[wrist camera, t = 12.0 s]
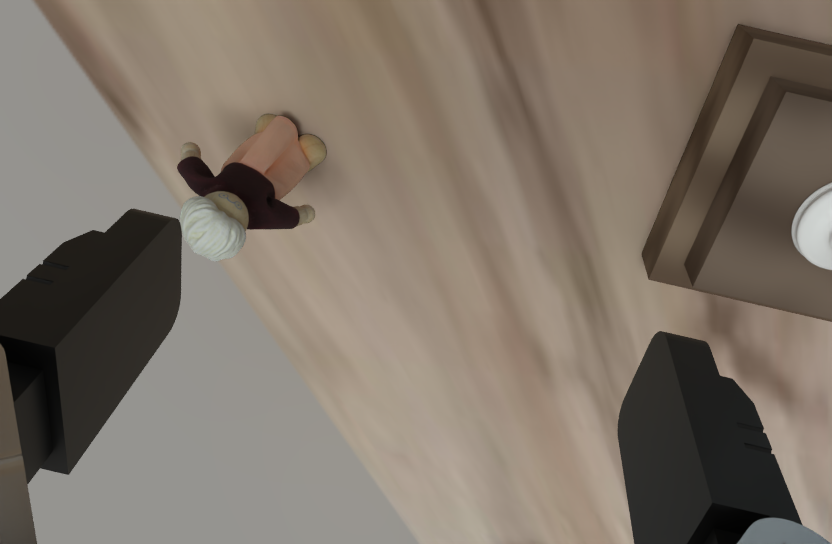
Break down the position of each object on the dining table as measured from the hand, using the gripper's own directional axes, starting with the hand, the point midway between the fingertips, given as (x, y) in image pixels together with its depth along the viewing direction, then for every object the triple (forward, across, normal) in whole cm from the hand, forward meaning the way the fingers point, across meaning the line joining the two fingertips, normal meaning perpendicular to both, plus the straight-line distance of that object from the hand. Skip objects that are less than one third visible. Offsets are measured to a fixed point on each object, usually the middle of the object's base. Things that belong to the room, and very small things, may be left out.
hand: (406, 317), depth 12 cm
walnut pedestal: (+30, -20, +6) cm, 37 cm away
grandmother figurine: (+30, +10, +11) cm, 34 cm away
